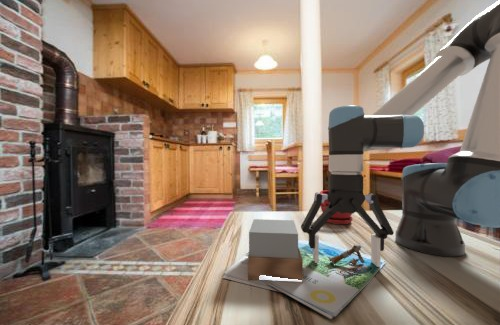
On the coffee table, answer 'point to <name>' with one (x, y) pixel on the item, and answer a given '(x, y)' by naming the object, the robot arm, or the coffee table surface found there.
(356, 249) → the wooden post with brackets
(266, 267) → the tower bottom
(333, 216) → the plant pot
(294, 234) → the tower top
